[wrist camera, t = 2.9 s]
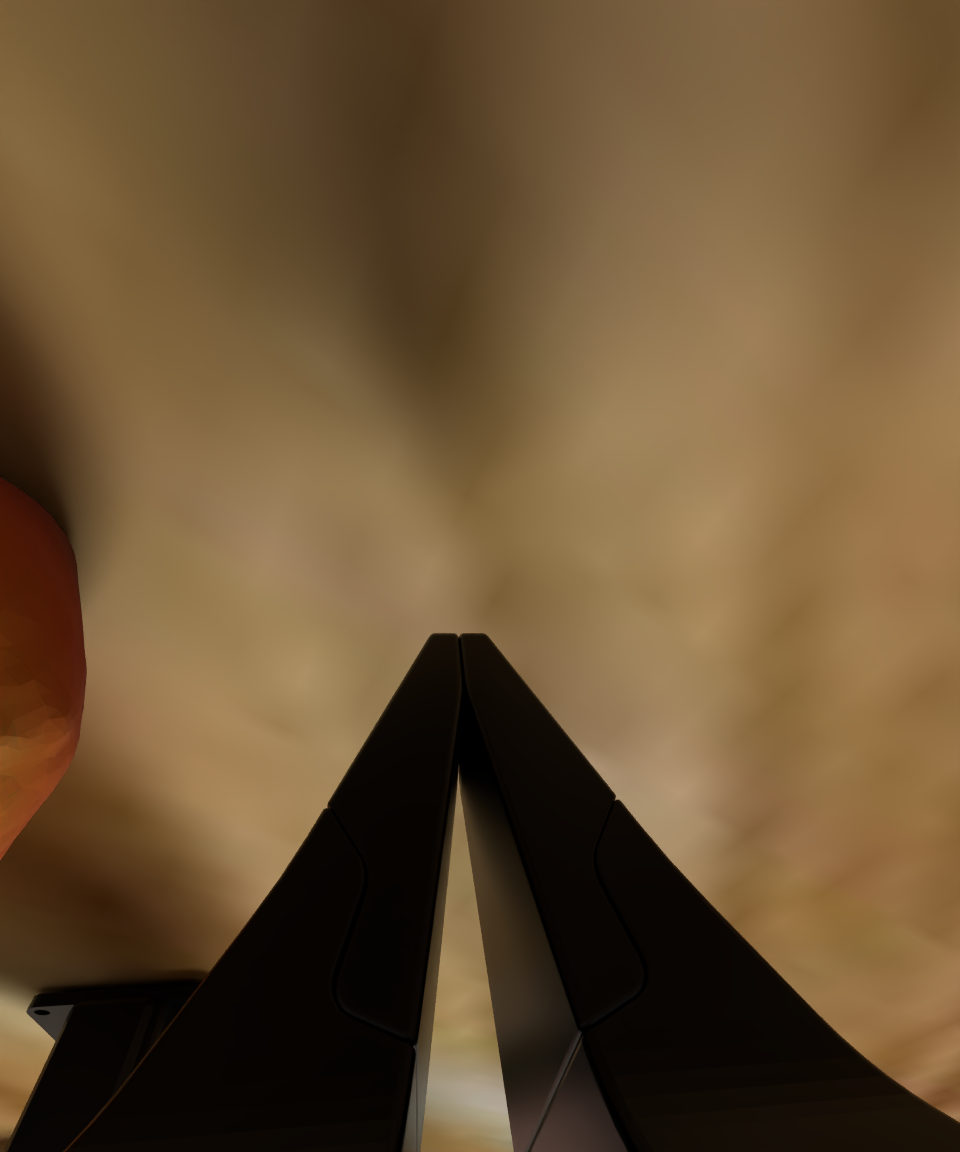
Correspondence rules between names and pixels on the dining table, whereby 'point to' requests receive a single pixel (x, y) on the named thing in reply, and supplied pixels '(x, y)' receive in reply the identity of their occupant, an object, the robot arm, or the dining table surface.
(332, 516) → the dining table surface
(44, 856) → the dining table surface
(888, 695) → the dining table surface
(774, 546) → the dining table surface
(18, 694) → the fruit
